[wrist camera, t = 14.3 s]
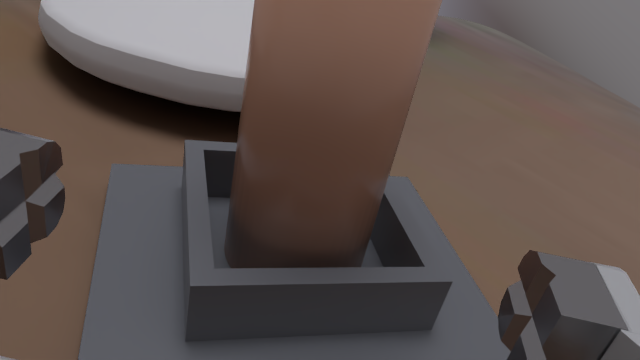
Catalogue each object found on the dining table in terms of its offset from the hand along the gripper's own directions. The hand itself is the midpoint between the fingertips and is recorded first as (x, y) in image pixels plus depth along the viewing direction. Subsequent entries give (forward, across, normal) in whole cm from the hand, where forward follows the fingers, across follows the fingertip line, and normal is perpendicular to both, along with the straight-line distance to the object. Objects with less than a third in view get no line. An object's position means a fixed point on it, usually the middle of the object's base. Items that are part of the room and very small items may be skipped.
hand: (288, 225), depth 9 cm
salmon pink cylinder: (+11, 0, +9) cm, 14 cm away
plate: (+34, +10, +11) cm, 37 cm away
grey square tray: (+11, 0, +10) cm, 15 cm away
